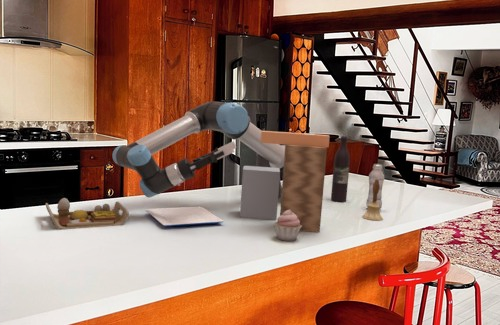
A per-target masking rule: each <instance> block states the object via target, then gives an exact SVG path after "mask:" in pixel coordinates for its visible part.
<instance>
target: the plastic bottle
mask: <svg viewBox="0 0 500 325" xmlns="http://www.w3.org/2000/svg"><path fill="white" fill-rule="evenodd" d="M382 170H383V164H380V163H374V164H373V166H372V170H371V172H369V174H368V195H367V199H366V202H365V203H366V204H365V205H366V206H365V207H366V208H368V205H369V204H371V203H372V200H373V184H374V182H375V180H376V179H377V180H379V192H378V194H377V201H376V204H377V205H379V209H380V210H381V209H382V205H383V200H382V192H383V191H382V190H383V185H384V182H385V174H384V172H383V171H382Z"/></svg>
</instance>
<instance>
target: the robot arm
mask: <svg viewBox="0 0 500 325" xmlns="http://www.w3.org/2000/svg"><path fill="white" fill-rule="evenodd" d="M248 114H249V113H248V111H247V109H246V108H245V107H244V106H242V105H241V104H239V103H235V102H223V101H214V100H213V101H208V102H205V103H202V104H200V105H198V106H196V107H195V108H192V109H190V110H188V111H186V112H185V114H184V116H182V117H180V118H178V119H177V120H174V121H172V122H170V123H168V124H166V125H164V126H162V127H161V128H159V129H157V130H154V131H153V132H152V133H149V134H147V135H146V136H143V137H142V138H140V139H138V140H136V141H133V142H131V143H129V144H127V145H118V146H117V147H115V148H114V150H113V151H112V160H113V162H114V163H115V164H116V165H117V166H120V167H121V168H122V167H123V168H126V169H129V170H132V171H134V172H137V174H138V175H139V177H140V178H141V179H140V180H139V183H138V184H139V188H140V190H141V192H142V194H143V195H144V196H145V197H146V198H152V197H155V196H158V195H160V194H162V193H163V192H165V191H167V190H170V189H172V188H174V187H176V186H178V187H181V184H183V183H184V182H185V181H189V180H191V179H192V178H195V177H196V173H195V171H196V170H197V171H199V170H201V169H203V168H204V167H206V166H209V165H210V164H213V163H215V164H217V163H218V162H219V161H218V160H220V159H223V158H224V157H227V156H229V155H231V154H234V153H235V151H234V150H236V148H237V145H236V144H235V141H230V142H229V143H227V144H224V145H222V146H220V147H219V148H218V147H215V148H214V150H213V151H211V152H208V153H207V154H205V155H204V154H203V155H201V156H199V157H195V158H194V159H192V162H190V160H189V159H188V158H186V157H185V158H183V159H181V160H179V161H177V163H176V162H175V163H172V164H170V165H168V166H165V168H161V167H160V166H159V164H158V163H157V162H156V160H155V158H154V157H153V155H156V153H158V152H160V151H161V150H164V149H166V148H168V147H169V146H171V145H173V144H175V143H177V142H179V141H181V140H182V139H184V138H186V137H188V136H190V135H192V134H199V133H201V132H203V131H215V132H216V131H217V132H220V133H223V135H225V136H227V137H228V138H229V139H231V140H238V141H240V142H241V143H243V144H244V145H246V146H247V147H249V149H251V150H253V152H255V153H256V157H255V158H256V159H255V162H256V163H255V166H257V167H272V168H279V169H280V177H283V169H284V156H285V144H271V143H261V131H262V130H261V129H260V128H258V127H257V126H256V125H255V124H254V123H252V122H251V118H250V116H249V115H248ZM281 196H282V182H281V178H280V179H279V193H278V198H281Z"/></svg>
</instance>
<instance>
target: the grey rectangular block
mask: <svg viewBox="0 0 500 325" xmlns="http://www.w3.org/2000/svg"><path fill="white" fill-rule="evenodd" d="M279 179H280V180H281V176H280V169H279V168H272V167H257V166H256V165H243V168H242V177H241V180H242V181H241V190H240V191H241V195H240V196H241V197H240V209H239V210H240V211H239V218H245V219H246V218H247V219H260V220H272V221H273V220H274V221H275V220H276V221H277V219H278V217H277V216H278V205H279V197H278V193H279Z"/></svg>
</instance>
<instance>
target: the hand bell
mask: <svg viewBox="0 0 500 325" xmlns="http://www.w3.org/2000/svg"><path fill="white" fill-rule="evenodd" d="M378 192H379V180H377V179H376V180H375V182H374V184H373V200H372V203H371V204H369V205H368V208H367V207H366V208H367V209H366V210H365V213H363V215H362V218H363V219H365V220H368V221H378V222H379V221H383V220H384V218H383V216H382V215H381V212H380V210H381V209H379V205H377V204H376V201H377V194H378Z"/></svg>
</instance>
